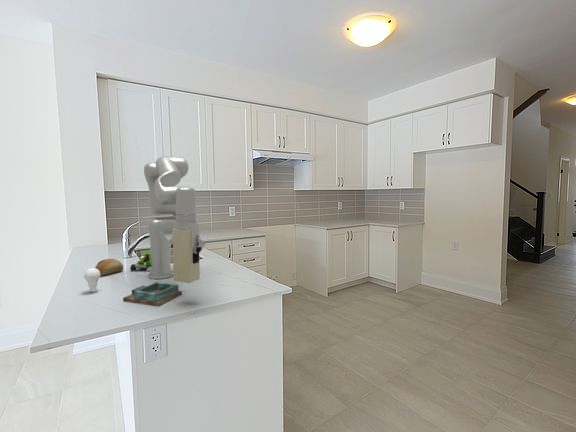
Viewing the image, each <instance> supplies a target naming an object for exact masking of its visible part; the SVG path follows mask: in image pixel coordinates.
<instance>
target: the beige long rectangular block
mask: <svg viewBox="0 0 576 432" xmlns="http://www.w3.org/2000/svg"><path fill="white" fill-rule="evenodd" d="M172 235H173V248H172V268H173V269H172V271H173V276H172V277H173V281H174V282H178V283H185V284H191V283H193V282H195V281H197V280H200V273H201V272H200V270H201V269H200V261H199V262H197V263H195V264H194V263H193V254H194V252H193V248H191V230H181V229H173V234H172ZM197 244H198V242H197V241H196V244H195V245H197ZM199 246H200V245H199ZM199 246H198V247H199ZM195 248H196V247H195Z"/></svg>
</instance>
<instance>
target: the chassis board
mask: <svg viewBox="0 0 576 432" xmlns="http://www.w3.org/2000/svg"><path fill="white" fill-rule="evenodd" d="M179 289H180V288H179V284H176V283H168V282H161V281H160V282H159V281H156V282H153V283H150V284H149V285H140V286H139V287H136V288H134V289H131V294H129V295H126V296H124V297H122V299H123V300H122V301H123V302H125V303H126V302H127V303H133V304H139V305H146V306H147V305H148V306H154V307H161V306H163V305H164V304H166V303H168V302H170V301H171V300H174V299H176V298H178V297H180V296H182V295H183V293H182V292H183V291H182V290H179Z"/></svg>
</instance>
